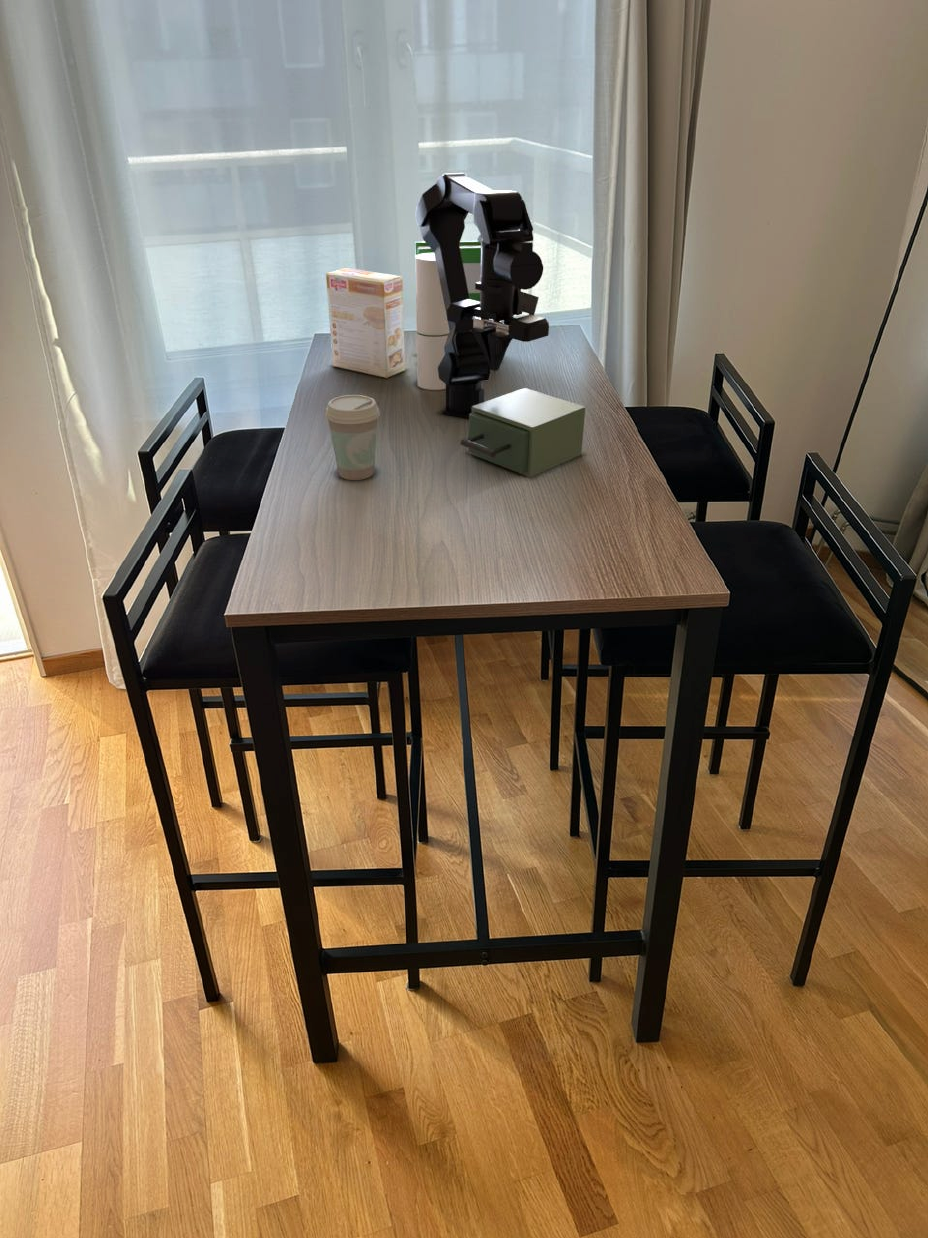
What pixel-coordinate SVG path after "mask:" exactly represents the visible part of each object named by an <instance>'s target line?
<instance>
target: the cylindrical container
mask: <svg viewBox="0 0 928 1238" xmlns="http://www.w3.org/2000/svg"><path fill="white" fill-rule="evenodd" d="M414 257H415V258H414V263H415V268H414V269H415V271H414V273H415V315H416V319H415V320H416V321H415V322H416V323H415V324H416V369H417V370H416V371H417V372H416V374H417V377H416V378H417V379H416V380H417V386H418V387H419V388H421V389H423V390H431V391H438V390H439V391H441V390H446V384H445V383H444V382H443V381H441V380H440V379H439V374H438V366H439V364H440V362H441V361H442V359H443V357H444V355H445V351H444V346H445V343H446V340H447V337H448V334H449V325H448V321H447V315H446V310H445V305H444V300H443V295H442V290H441V285H440V279H439V274H438V269H437V264H436V259H435V254H434V253H423V254H418V255H416V256H415V255H414Z"/></svg>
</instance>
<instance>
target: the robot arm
mask: <svg viewBox="0 0 928 1238" xmlns="http://www.w3.org/2000/svg"><path fill="white" fill-rule="evenodd" d="M419 198H420V199H419V200H418V203H417V205H416V208H415V221H416V224H417V226H418V227H419V231H420V234H421V238H422V240H423V242H426V243H427V245H428V246H429V247H430V248H431V249H432V250H433V251H434V254H435V259H436V264H437V269H438V274H439V279H440V285H441V290H442V295H443V300H444V305H445V310H446V315H447V321H448V325H449V334H448V337H447V340H446V343H445V346H444V351H445V355H444V357H443V359H442V361H441V362H440V364H439V366H438V374H439V379H440V380H441V381H443V382H444V383H445V384H446V389H445V408H443V409H442V410H441V413H442V414H443V415H449V416H455V417H459V418H466V419H469V414H471V413H472V406H474V405H477V404H480V403H483V402H485V388H484V387H483V382H484V381H486V382H487V381H490V376H491V373H492V371H493V372H497V371H499V370H500V368H501V366H502V362H503V360H504V357H505V355H506V352H507V350H508V348H509V346H510V344H511V342H512V340H516V341H520V342H523V343H526V342H527V343H529V342H532V341H535V340H539V339H542V338H545V337H549V334H550V333H549V332H550V323H549V322H548V320H547V318H546V317H541V316H537V315H535V314H536V310H537V307H538V306H537V305H538V302H539V298H540V297H539V296H536V295H534V294H530V293H528V292H524V290H525V291H526V290H527V291H528V290H530V289H532V288H534V287H535V286H537V285H538V284H539V282H540V281H541V279H542V277H543V274H544V264H543V261H542V258H541V256H540V255H539V254H538V253H537V252H535V251H534V249H533V248H534V242H533V241H534V234H533V231H534V227H533V224H532V221H531V219H530V216H529V212H528V210H527V206H526V203H525V200H524V199H523V197H522V195H521V193H520V192H518V191H516V190H493V189H491V188H490V187H488V186H487V185H484V184H482V183H480V182H479V181H477V180H474V179H472V178H471V177H470V175H468V174H465V173H464V172H456V173H454V172H453V173H443V174H442V175H439V176H438V178H437V179H436V182H435V183H434V184H433V185H432V186H430V187H429V188H428V189H427V190H426V191H424V192H423V193H422V194H421V196H420V197H419ZM469 213H470V214H471V215H472V216H473V217H472V223H473V225H475V226H476V228H477V230H478V231H479V233H480V234H479V236H478V237H477V240H476V241H478V242H480V243H481V281H480V282H477V283H475V289H476V290H480V302H478V301H474V300H470V297H469V292H468V287H467V281H466V276H465V271H464V266H463V261H462V256H461V250H460V244H459V243H460V241H462V237H463V234H464V231H465V229H466V225H465V224H466V223H465V221H466V218H467V217H468V214H469ZM522 290H523V291H522ZM523 313H526V314H527V315H523ZM520 315H523V316H520ZM514 316H519V317H514ZM500 320H501V321H500Z"/></svg>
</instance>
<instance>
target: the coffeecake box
mask: <svg viewBox="0 0 928 1238" xmlns="http://www.w3.org/2000/svg"><path fill="white" fill-rule="evenodd" d="M325 277H326V278H325V280H326V293H327V294H326V295H327V306H328V319H329V321H328V323H329V335H330V346H331V347H330V349H331V361H332V367H335V368H340V369H345V370H350V371H353V372H358V373H363V374H368V375H371V376H375V377H380V378H384V379H388V378H390V377H392V376H395V375H397V374H400V373H401V372H405V371H406V358H405V355H406V353H405V325H404V324H405V323H404V291H403V287H404V286H403V285H404V284H403V275H396V274H389V273H383V272H375V271H368V270H363V269H355V268H349V267H343V268H339V269H336V270H334V271H329V272H326V273H325Z"/></svg>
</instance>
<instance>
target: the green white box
mask: <svg viewBox="0 0 928 1238" xmlns="http://www.w3.org/2000/svg"><path fill="white" fill-rule="evenodd" d="M459 244H460V250H461V256H462V261H463V266H464V271H465V276H466V281H467V287H468V292H469V297H470V300H474V301H478V302H480V290H476V289H475V283H477V282H480V281H481V243H480V242H478V240H460V243H459ZM414 247H415V248H414V252H415V253H414V254H415V255H414V257H415V256H416V255H418V254H423V253H434V251H433V250H432V249H431V248H430V247H429V246H428V245H427V243H426V242H425V241H414ZM500 321H501V320H500Z"/></svg>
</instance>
